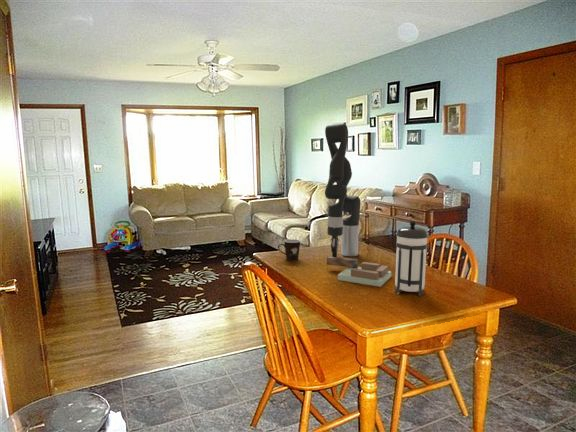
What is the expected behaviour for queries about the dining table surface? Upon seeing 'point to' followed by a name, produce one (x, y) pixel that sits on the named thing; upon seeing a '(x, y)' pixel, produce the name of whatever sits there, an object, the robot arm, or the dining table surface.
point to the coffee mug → (291, 249)
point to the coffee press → (411, 259)
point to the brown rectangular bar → (342, 262)
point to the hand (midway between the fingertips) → (334, 259)
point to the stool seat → (366, 274)
